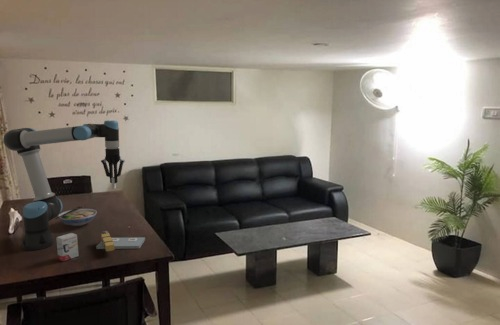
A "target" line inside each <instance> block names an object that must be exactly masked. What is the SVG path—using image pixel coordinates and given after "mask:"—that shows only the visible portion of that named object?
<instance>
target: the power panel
mask: <svg viewBox="0 0 500 325" xmlns="http://www.w3.org/2000/svg"><path fill="white" fill-rule="evenodd" d="M111 239H112V240H113V243H114V250H120V249H122V250H123V249H124V250H125V249H126V250H129V249H131V250H133V249H135V250H136V249H138V250H139V249H140V248H141V247H142V246H143V244H144V242H145V241H146V237H145V236H144V237H139V236H138V237H137V236H136V237H111ZM95 247H96V250H106V249H105V247H104V244H103V241H102V240H101V241H100V242H99V243H98V244H97V245H96V246H95Z"/></svg>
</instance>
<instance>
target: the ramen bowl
mask: <svg viewBox="0 0 500 325" xmlns="http://www.w3.org/2000/svg"><path fill="white" fill-rule="evenodd" d="M97 213H98V212H97V209H93V208H83V206H76V207H75V208H73V209H71V210H66V211H63V212H61V213H60V214H59V215H58V216H57V217H55V218H54V219H55V220H57V219H59V220H60V221H61V222H62V223H64V224H65V225H67V226H72V227H82V226H84V225H87V224H88V223H89V224H90V222H92V221H93V220H94V219H95V218H96V216H97Z"/></svg>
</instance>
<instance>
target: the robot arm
mask: <svg viewBox="0 0 500 325" xmlns="http://www.w3.org/2000/svg"><path fill="white" fill-rule="evenodd" d="M119 130H120V128H119V121H117V120H104V122H103V123H101V124H100V123H84V124H82V125H77V126H76V125H75V126H69V127H68V126H67V127H58V128H51V129H41V130H36V129H34V128H31V127H22V128H16V129H15V128H14V129H11V130H9V131H6V133H5V134H4V135H3V140H2V141H3V144H4V146H5V147H6V148H7V149H8V150H11V151H15V152H17V156H20V157H22V158H21V159H22V162H23V164H24V166H25V170H26V173H27V176H28V178H29V182H30V185H31V189H32V191H33V194H34V199H33V200H32V202H30V203H26V204H25V205H24V206H23V207H22V218H23V227H24V237H23V240H22V244H21V245H22V249H23V250H27V251H38V250H43V249H45V248H49V247H51V246H53V245H54V244H55V243H54V237H53V235H52V233H51V231H50V224H49V222H50V221H51V220H53V219H55V218H57V217H58V216H59V214H61V213H62V211H63V202H62V201H61V199H59V198H58V197H57V195H56V193H55V192H52V189H51V186H50V184H49V180H48V178H47V174H46V172H45V171H46V170H45V167H44V165H43V162H42V158H41V155H40V151H41V146H40V145H50V144H58V143H67V142H74V141H75V142H76V141H87V140H90V139H94V138H104V142H105V143H104V146H105V149H104V151H105V156H104V158H103V159H102V160H100V162H101V163H102V165H103V166H102V167H103V169H104V173H105V176H106V177H108V178H109V183H110V184H111V190H115V189H116V188H117V183H118V178H119V177H121V175H122V170H123V166H124V163H125V162H126V161H125V159H123V158H122V156H121V155H120V148H119V147H120V133H119V132H120V131H119ZM107 163H108V164H107ZM118 163H119V165H118Z"/></svg>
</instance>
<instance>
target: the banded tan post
mask: <svg viewBox="0 0 500 325" xmlns="http://www.w3.org/2000/svg"><path fill="white" fill-rule="evenodd" d="M100 236H101V241H103V244H104V247H105V249H104V250H105V252H111V251H115V249H114V243H113V240H112V239H111V238H112V237H111V235H110V233H109V231H108V230H102V231H101V235H100Z"/></svg>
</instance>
